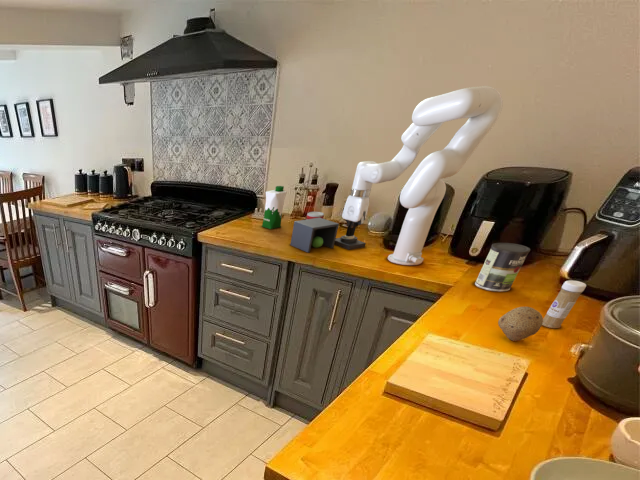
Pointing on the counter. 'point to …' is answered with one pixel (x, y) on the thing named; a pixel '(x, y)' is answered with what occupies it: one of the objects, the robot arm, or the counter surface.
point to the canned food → (315, 215)
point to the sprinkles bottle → (563, 303)
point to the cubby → (313, 233)
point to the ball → (317, 242)
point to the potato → (520, 323)
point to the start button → (349, 237)
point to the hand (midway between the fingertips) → (349, 235)
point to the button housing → (349, 243)
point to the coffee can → (501, 266)
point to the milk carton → (274, 207)
